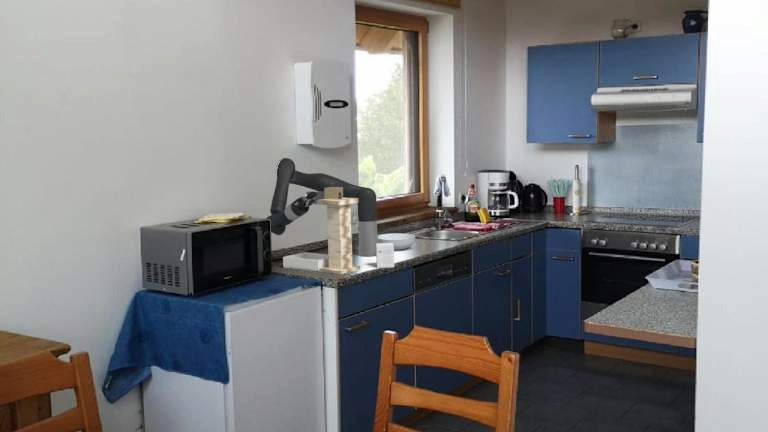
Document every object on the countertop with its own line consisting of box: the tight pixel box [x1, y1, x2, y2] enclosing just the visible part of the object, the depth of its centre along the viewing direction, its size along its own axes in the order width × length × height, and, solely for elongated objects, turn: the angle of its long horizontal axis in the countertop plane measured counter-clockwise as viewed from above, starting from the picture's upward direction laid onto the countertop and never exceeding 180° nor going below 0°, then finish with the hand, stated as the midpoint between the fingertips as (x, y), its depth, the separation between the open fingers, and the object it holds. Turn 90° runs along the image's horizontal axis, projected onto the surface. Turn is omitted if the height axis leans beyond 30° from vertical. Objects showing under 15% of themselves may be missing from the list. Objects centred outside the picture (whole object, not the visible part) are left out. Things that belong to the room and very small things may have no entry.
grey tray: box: [282, 251, 329, 273], centre depth 361 cm, size 15×21×5 cm
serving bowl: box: [377, 232, 416, 252], centre depth 408 cm, size 21×21×7 cm
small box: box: [375, 243, 395, 269], centre depth 358 cm, size 8×6×10 cm
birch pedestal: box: [316, 197, 361, 275], centre depth 349 cm, size 14×12×32 cm
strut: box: [306, 187, 343, 200], centre depth 350 cm, size 6×16×5 cm, turn 65°
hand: (319, 192), depth 353 cm, fingers open, 7 cm apart
